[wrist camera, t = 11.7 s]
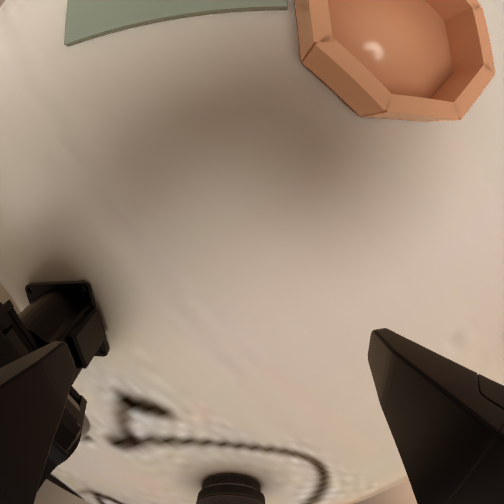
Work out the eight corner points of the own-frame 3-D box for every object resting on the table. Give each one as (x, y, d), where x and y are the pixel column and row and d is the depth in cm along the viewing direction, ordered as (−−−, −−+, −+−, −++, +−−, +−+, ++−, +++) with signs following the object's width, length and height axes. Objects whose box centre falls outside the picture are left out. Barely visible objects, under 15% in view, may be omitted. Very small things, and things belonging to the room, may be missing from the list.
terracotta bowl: (304, 116, 18) (319, 109, 14) (287, -41, 15) (296, -74, 10) (461, 126, 18) (500, 127, 14) (439, -15, 15) (469, -34, 10)
